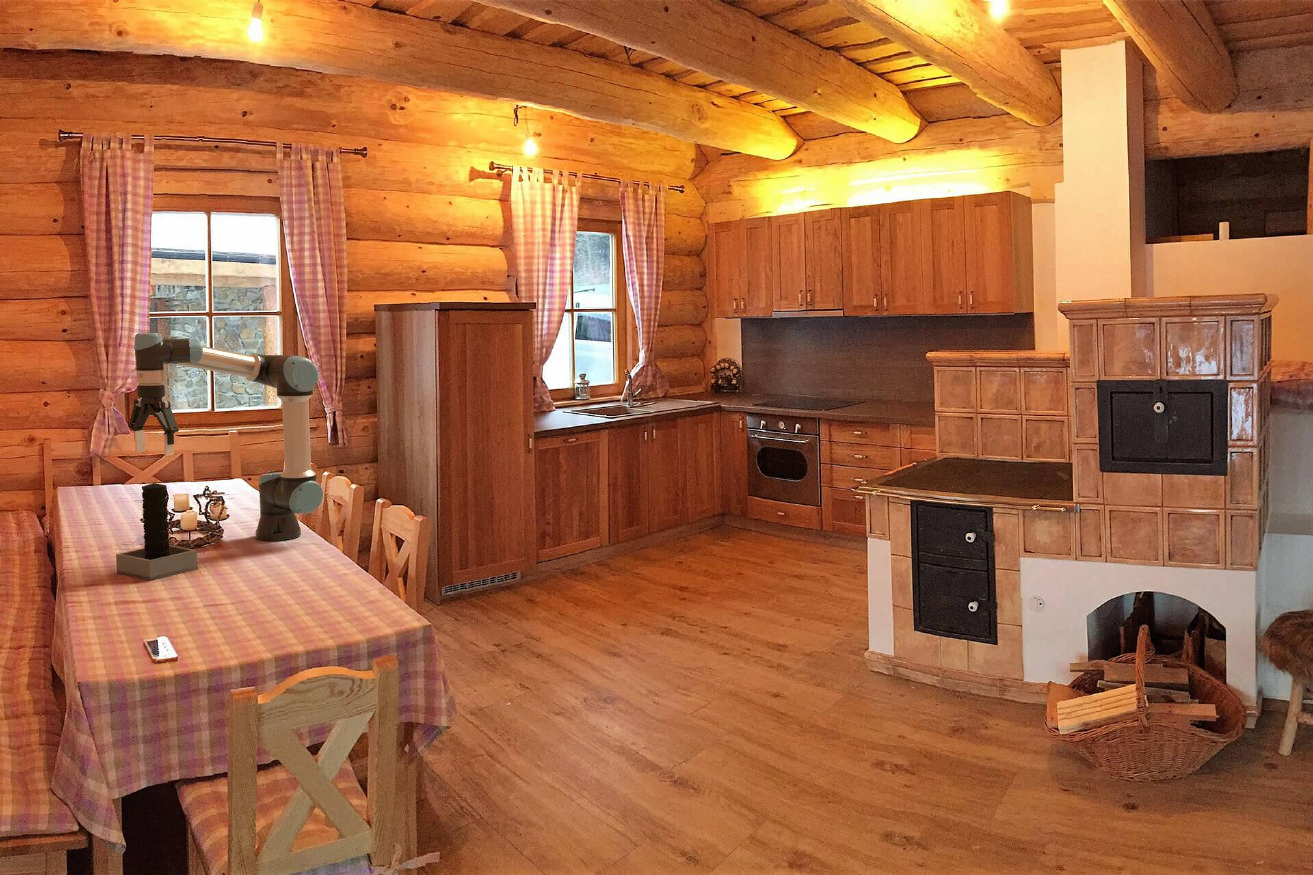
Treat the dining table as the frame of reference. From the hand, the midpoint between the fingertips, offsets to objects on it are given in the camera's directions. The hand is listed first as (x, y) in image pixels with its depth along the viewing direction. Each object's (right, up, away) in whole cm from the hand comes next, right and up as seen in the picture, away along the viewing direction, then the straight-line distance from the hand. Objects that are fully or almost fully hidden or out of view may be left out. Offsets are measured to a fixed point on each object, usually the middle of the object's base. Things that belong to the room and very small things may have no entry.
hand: (154, 453), depth 308 cm
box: (0, -36, +2) cm, 36 cm away
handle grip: (0, -35, +2) cm, 36 cm away
